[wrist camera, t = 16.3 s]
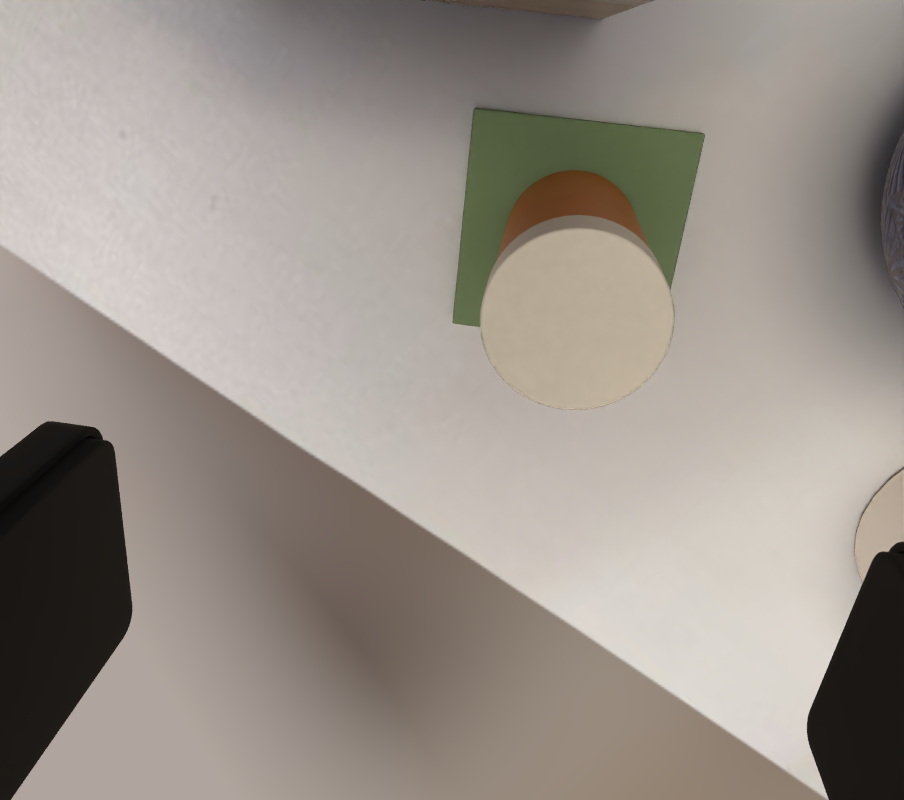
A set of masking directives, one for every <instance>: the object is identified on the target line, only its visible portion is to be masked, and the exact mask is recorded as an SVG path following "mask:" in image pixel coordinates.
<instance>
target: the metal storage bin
mask: <svg viewBox="0 0 904 800" xmlns="http://www.w3.org/2000/svg"><path fill="white" fill-rule="evenodd" d="M423 1H433V2H443V3H453V4H462V5H472V6H482V7H492V8H502V9H511V10H521V11H531V12H541V13H550V14H560V15H570V16H580V17H590V18H599V19H603V18H606V17H609V16H612V15H615V14H617V13H620V12H623V11H626V10H629V9H631V8H634V7H637V6H640V5H643V4H645V3H648V2H651V1H654V0H423Z"/></svg>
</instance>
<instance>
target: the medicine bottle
mask: <svg viewBox="0 0 904 800" xmlns="http://www.w3.org/2000/svg"><path fill="white" fill-rule="evenodd" d="M673 328H674V305H673V299H672V295H671V291H670V288H669V285H668V283H667V281H666V278H665V276H664V274H663V272H662V269H661V267H660V265H659V262H658V260H657V259H656V257H655V256H654V254H653V252H652V251H651V250H650V249H649V246H648V244H647V241H646V239H645V237H644V234H643V232H642V229H641V227H640V225H639V222H638V220H637V217H636V215H635V213H634V210H633V208H632V206H631V204H630V202H629V200H628V199H627V197H626V196H625V195H624V193H623V192H622V191H621V190H620V189H619V188H618V187H617V186H616V185H615V184H614V183H612V182H611V181H609V180H608V179H606V178H604V177H602V176H600V175H597V174H594V173H591V172H587V171H581V170H568V171H561V172H556V173H553V174H550V175H548V176H545V177H543V178H541V179H539V180H538V181H536V182H535V183H533V184H532V185H531V186H530V187H529V188H527V189H526V190H525V191H524V192H523V193H522V195H521V196H520V197H519V198H518V200H517V201H516V203H515V204H514V206H513V208H512V210H511V212H510V215H509V218H508V221H507V225H506V229H505V232H504V236H503V239H502V243H501V246H500V250H499V254H498V257H497V261H496V263H495V265H494V267H493V269H492V271H491V273H490V276H489V279H488V282H487V286H486V289H485V292H484V296H483V299H482V305H481V310H480V330H481V337H482V341H483V345H484V348H485V351H486V353H487V356H488V358H489V360H490V362H491V363H492V365H493V367H494V368H495V370H496V371H497V372H498V374H499V375H500V376H501V377H502V378H503V380H504V381H505V382H506V383H507V384H508V385H510V386H511V387H512V388H513V389H514V390H516V391H517V392H518V393H520V394H522V395H523V396H525V397H526V398H528V399H531V400H533V401H535V402H537V403H540V404H543V405H546V406H549V407H554V408H559V409H568V410H583V409H591V408H597V407H601V406H604V405H608V404H610V403H613V402H615V401H618V400H620V399H622V398H624V397H625V396H627V395H629V394H631V393H632V392H634V391H635V390H636V389H638V388H639V387H640V386H641V385H643V384H644V383H645V382H646V381H647V380H648V379H649V378H650V377H651V376H652V374H653V373H654V372H655V371H656V370H657V368H658V367H659V365H660V363H661V362H662V360H663V359H664V357H665V354H666V352H667V350H668V348H669V345H670V342H671V338H672V334H673Z"/></svg>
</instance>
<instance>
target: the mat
mask: <svg viewBox="0 0 904 800" xmlns="http://www.w3.org/2000/svg"><path fill="white" fill-rule="evenodd" d="M704 137H705V135H704V134H703V133H696V132H687V131H678V130H669V129H660V128H651V127H642V126H633V125H625V124H616V123H607V122H598V121H589V120H580V119H571V118H562V117H553V116H544V115H535V114H526V113H517V112H508V111H499V110H490V109H481V108H475V109H474V113H473V123H472V133H471V143H470V153H469V163H468V173H467V183H466V193H465V203H464V213H463V223H462V233H461V243H460V253H459V263H458V273H457V283H456V293H455V303H454V313H453V323H455V324H463V325H470V326H478V327H480V310H481V305H482V299H483V296H484V292H485V289H486V286H487V282H488V279H489V276H490V273H491V271H492V269H493V267H494V265H495V263H496V261H497V257H498V254H499V250H500V246H501V243H502V239H503V236H504V232H505V229H506V225H507V221H508V218H509V215H510V212H511V210H512V208H513V206H514V204H515V203H516V201H517V200H518V198H519V197H520V196H521V195H522V193H523V192H524V191H525V190H526V189H527V188H529V187H530V186H531V185H532V184H533V183H535V182H536V181H538V180H539V179H541V178H543V177H545V176H548V175H550V174H553V173H556V172H561V171H568V170H581V171H587V172H591V173H594V174H597V175H600V176H602V177H604V178H606V179H608V180H609V181H611V182H612V183H614V184H615V185H616V186H617V187H618V188H619V189H620V190H621V191H622V192H623V193H624V195H625V196H626V197H627V199H628V200H629V202H630V204H631V206H632V208H633V210H634V213H635V215H636V217H637V220H638V222H639V225H640V227H641V229H642V232H643V234H644V237H645V239H646V241H647V244H648V246H649V249H650V250H651V251H652V252H653V254H654V256H655V257H656V259H657V260H658V262H659V265H660V267H661V269H662V272H663V274H664V276H665V278H666V281H667V283H668V285H669V288H670V289H671V284H672V280H673V275H674V271H675V266H676V262H677V258H678V253H679V249H680V244H681V240H682V235H683V231H684V226H685V222H686V217H687V213H688V208H689V204H690V200H691V195H692V191H693V186H694V182H695V177H696V173H697V168H698V164H699V159H700V155H701V150H702V146H703V142H704Z"/></svg>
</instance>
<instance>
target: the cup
mask: <svg viewBox="0 0 904 800" xmlns="http://www.w3.org/2000/svg"><path fill="white" fill-rule="evenodd" d="M899 542H904V469H903V470H902V471H901V472H899V473H898V474H897V475H895V476H894V477H893V478H891V479H890V480H889V481H888V482H887V483H886V484H885V485H884V487H883V488H882V489H881V490H880V491H879V492H878V493H877V494H876V495H875V496H874V497H873V499H872V501H871V502H870V504H869V506H868V507H867V509H866V510H865V512H864V514H863V515H862V518H861V521H860V524H859V527H858V530H857V533H856V540H855V558H856V563H857V568H858V572H859V574H860V576H861V579H862V581H864V579H865V577H866V574H867V572H868V569H869V567H870V565H871V562H872V560H873V558H874V557H875V555H877V554H878V553H879V552H882V551H885V552H889V550H890V548H891V547H892V546H894V545H895V544H896V543H899Z"/></svg>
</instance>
